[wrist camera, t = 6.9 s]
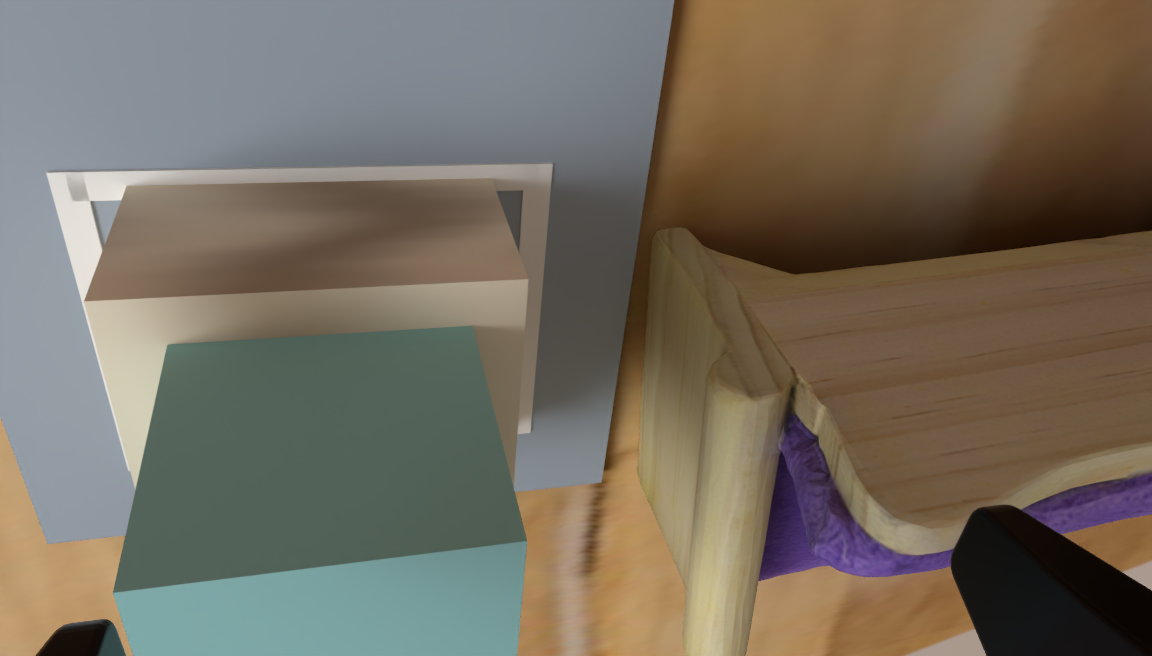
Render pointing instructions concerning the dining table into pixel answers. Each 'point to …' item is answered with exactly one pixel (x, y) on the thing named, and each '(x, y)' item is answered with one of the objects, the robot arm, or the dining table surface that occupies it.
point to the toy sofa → (885, 409)
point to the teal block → (324, 502)
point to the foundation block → (304, 277)
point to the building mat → (318, 154)
